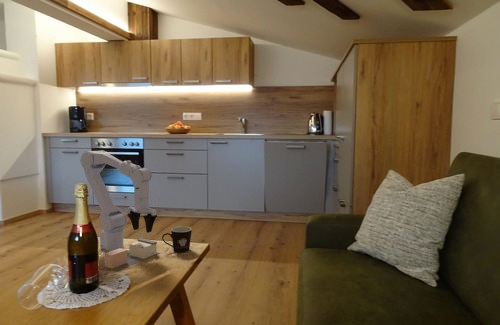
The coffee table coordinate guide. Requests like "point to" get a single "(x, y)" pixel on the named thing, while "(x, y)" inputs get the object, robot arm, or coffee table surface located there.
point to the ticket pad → (143, 248)
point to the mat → (128, 261)
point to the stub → (115, 258)
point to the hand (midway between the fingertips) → (142, 230)
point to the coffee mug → (180, 239)
